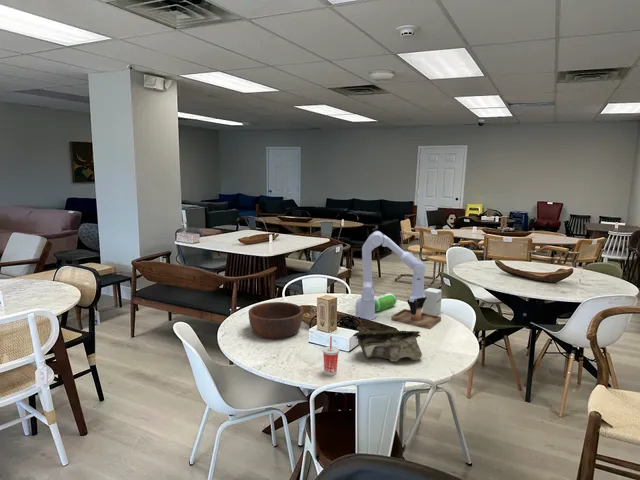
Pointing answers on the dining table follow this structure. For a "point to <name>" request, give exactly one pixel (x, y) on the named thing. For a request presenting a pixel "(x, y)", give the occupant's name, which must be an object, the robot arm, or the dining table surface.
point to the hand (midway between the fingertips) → (416, 312)
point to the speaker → (384, 301)
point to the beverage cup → (330, 359)
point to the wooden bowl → (275, 319)
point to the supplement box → (432, 301)
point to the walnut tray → (425, 322)
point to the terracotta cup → (417, 314)
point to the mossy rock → (390, 344)
